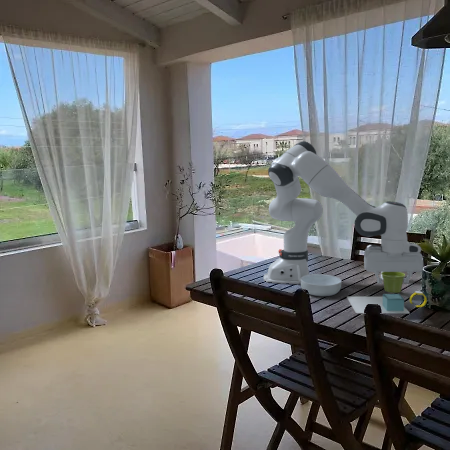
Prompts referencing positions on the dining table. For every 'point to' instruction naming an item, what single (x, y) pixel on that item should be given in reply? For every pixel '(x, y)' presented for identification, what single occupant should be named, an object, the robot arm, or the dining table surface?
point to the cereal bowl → (321, 284)
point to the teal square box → (393, 302)
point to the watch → (418, 294)
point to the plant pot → (393, 281)
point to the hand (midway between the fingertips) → (392, 283)
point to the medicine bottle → (367, 247)
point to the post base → (361, 303)
